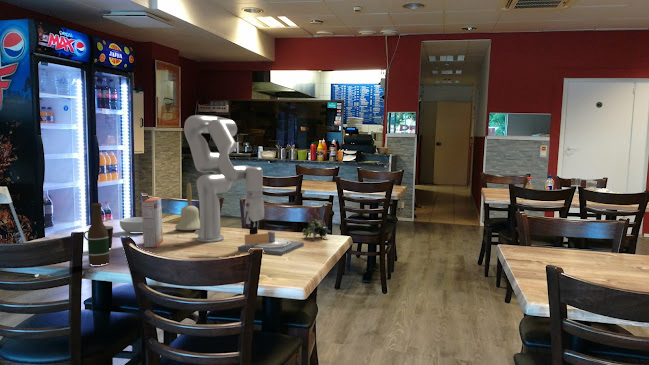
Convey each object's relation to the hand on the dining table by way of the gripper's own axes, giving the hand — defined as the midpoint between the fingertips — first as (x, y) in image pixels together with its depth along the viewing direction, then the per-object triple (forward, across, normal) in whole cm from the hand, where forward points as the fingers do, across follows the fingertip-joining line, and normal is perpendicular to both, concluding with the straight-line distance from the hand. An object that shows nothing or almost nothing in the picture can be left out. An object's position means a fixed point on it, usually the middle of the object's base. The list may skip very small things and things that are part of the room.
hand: (253, 235), depth 223 cm
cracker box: (+7, -15, +45) cm, 48 cm away
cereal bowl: (+8, +3, +73) cm, 73 cm away
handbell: (+8, +20, +53) cm, 57 cm away
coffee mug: (+7, -33, +58) cm, 67 cm away
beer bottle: (+7, -51, +38) cm, 64 cm away
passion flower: (+5, +29, -17) cm, 34 cm away
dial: (+4, 0, -6) cm, 7 cm away
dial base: (+5, +2, -8) cm, 10 cm away
